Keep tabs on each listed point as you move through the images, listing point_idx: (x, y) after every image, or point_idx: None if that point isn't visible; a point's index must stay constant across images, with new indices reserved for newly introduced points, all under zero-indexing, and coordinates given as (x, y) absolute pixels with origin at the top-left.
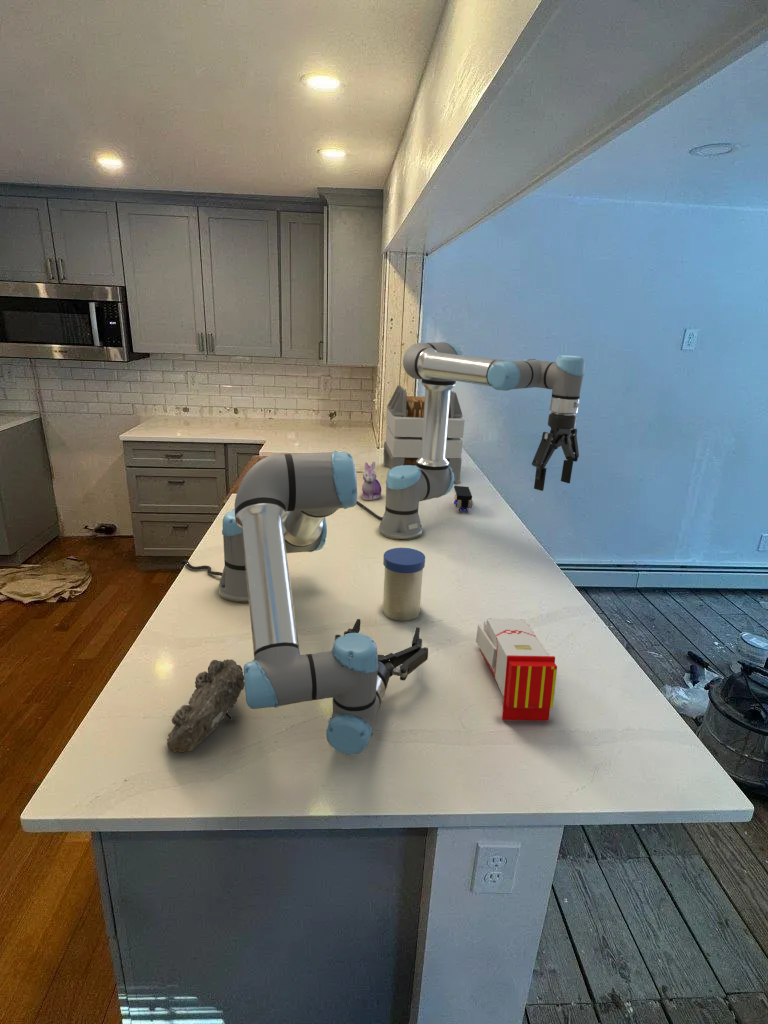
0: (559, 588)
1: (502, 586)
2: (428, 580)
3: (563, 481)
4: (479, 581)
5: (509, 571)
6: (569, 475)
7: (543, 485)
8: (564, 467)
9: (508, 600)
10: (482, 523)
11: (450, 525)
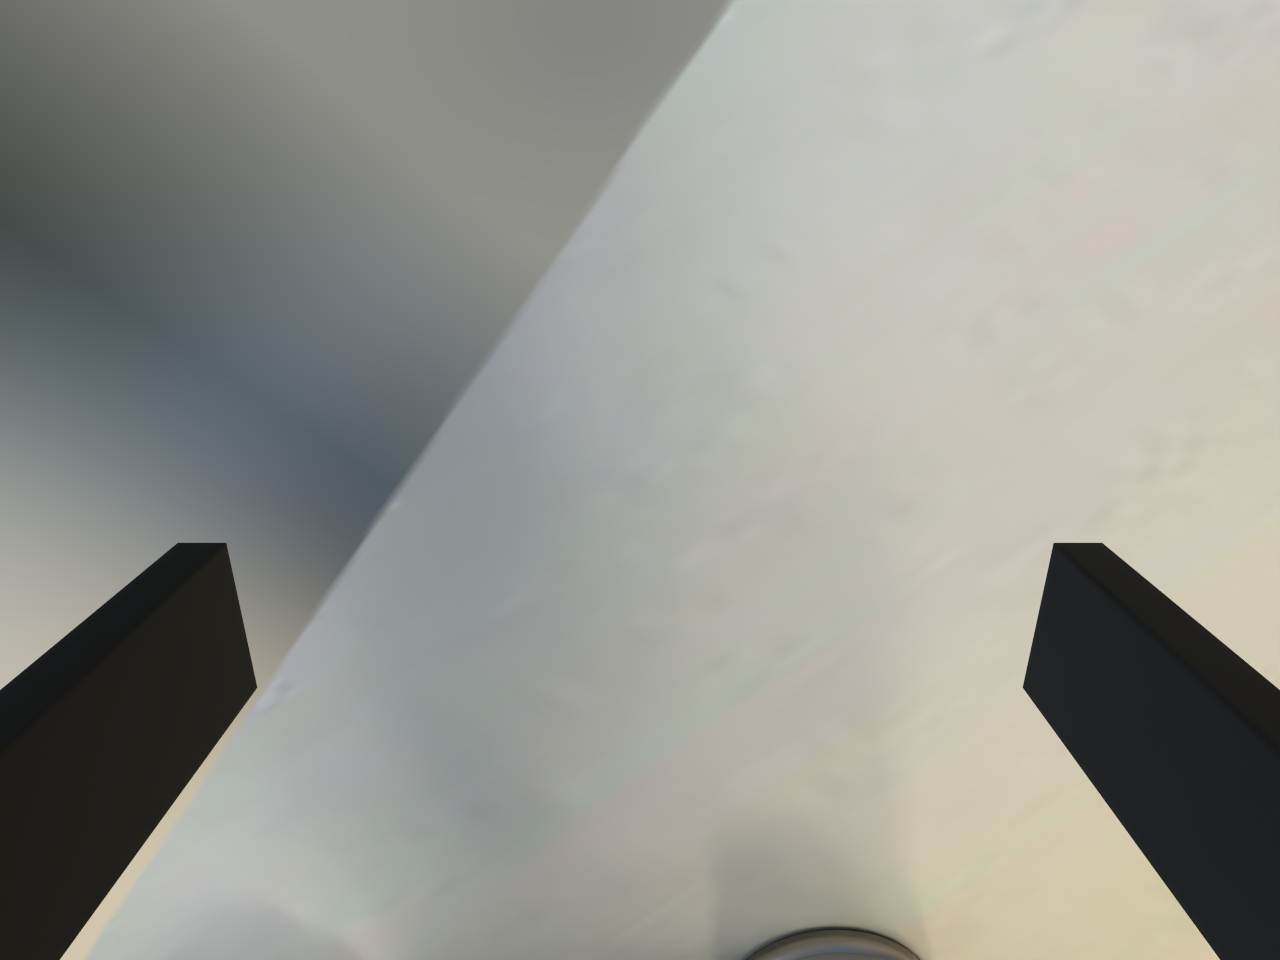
0: (734, 85)
1: (985, 329)
2: (1206, 603)
3: (244, 642)
4: (1024, 446)
5: (776, 428)
6: (137, 633)
7: (1133, 592)
8: (76, 881)
9: (1125, 191)
10: (361, 889)
11: (541, 948)
